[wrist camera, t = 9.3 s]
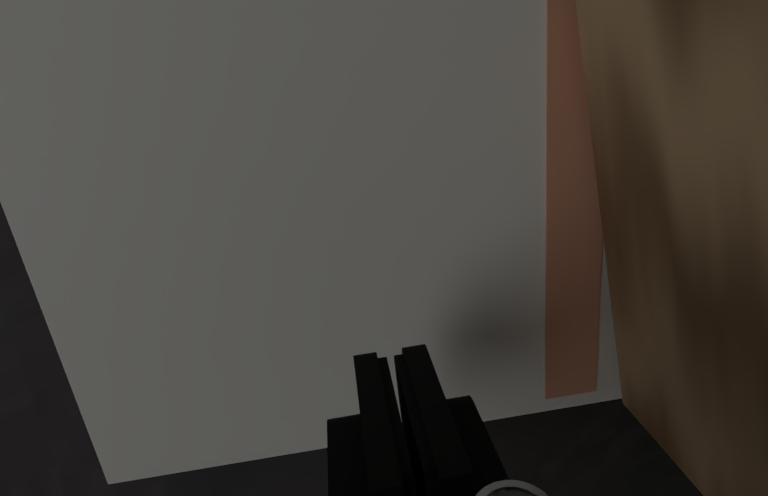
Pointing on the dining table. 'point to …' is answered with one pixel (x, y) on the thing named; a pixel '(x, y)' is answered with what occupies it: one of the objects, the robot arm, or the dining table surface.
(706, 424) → the gate panel
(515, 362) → the card
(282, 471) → the dining table surface
